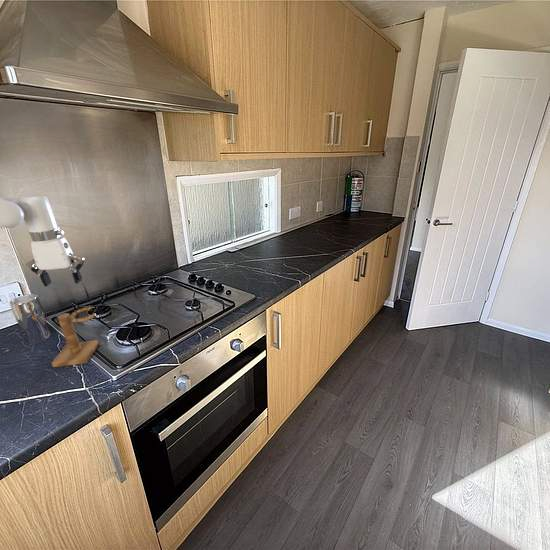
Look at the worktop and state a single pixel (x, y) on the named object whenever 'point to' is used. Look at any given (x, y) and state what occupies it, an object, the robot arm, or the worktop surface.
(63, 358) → the stand
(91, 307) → the ring
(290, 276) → the worktop surface
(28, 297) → the beer glass
